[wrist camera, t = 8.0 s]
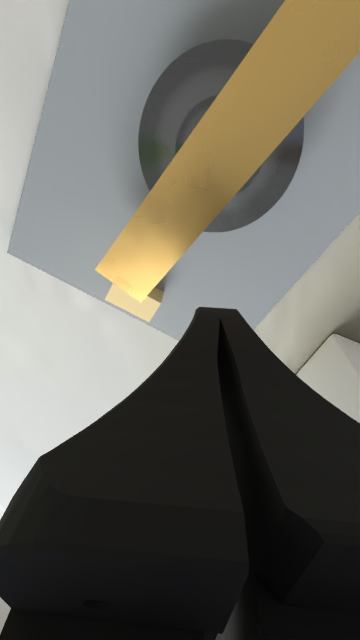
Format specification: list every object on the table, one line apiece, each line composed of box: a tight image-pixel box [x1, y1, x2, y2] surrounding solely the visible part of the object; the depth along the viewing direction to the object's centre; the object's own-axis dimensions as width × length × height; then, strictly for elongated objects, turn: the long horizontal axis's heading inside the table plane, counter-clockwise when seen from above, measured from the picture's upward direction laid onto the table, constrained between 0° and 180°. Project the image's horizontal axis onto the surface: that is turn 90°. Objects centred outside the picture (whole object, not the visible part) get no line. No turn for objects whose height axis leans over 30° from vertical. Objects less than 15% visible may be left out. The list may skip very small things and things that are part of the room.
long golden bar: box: [95, 0, 360, 303], centre depth 11 cm, size 7×13×4 cm, turn 141°
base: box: [7, 0, 360, 341], centre depth 14 cm, size 22×16×2 cm
